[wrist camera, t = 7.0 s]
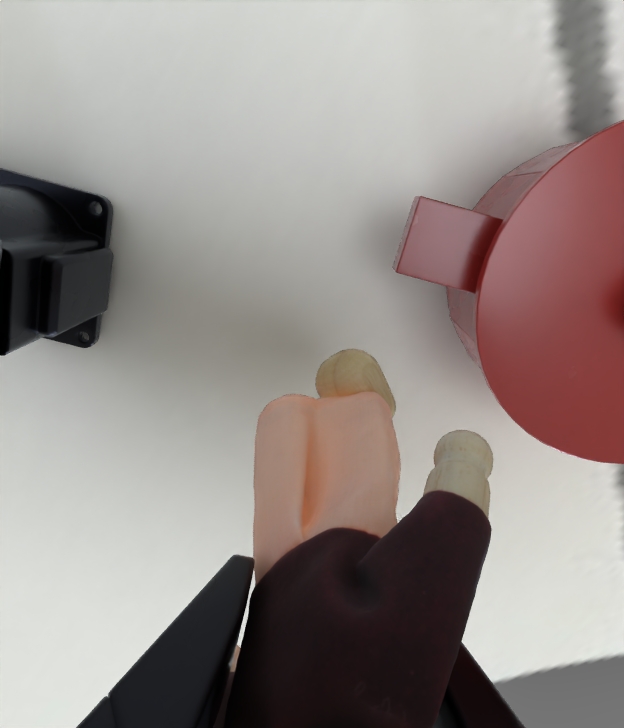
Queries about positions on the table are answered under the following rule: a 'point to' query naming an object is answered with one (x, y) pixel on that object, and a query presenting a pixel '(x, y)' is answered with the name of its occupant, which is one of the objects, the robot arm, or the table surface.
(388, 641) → the grandmother figurine
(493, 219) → the pot
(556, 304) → the pot lid
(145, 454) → the table surface
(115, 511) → the table surface
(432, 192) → the table surface
